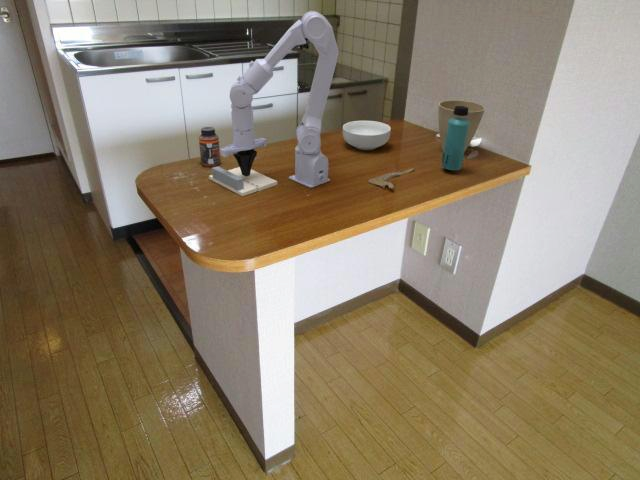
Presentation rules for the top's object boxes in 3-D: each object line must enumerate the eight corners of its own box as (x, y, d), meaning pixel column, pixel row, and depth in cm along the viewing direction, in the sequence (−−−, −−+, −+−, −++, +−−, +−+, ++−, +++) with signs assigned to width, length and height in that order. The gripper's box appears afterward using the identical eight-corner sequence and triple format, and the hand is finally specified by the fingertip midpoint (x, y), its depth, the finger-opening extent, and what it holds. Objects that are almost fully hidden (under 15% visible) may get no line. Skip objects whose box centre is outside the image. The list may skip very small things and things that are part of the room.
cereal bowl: (344, 137, 169) (345, 118, 166) (389, 140, 168) (391, 121, 164) (339, 152, 155) (340, 132, 151) (388, 156, 153) (390, 135, 150)
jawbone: (362, 189, 132) (362, 182, 131) (387, 168, 147) (388, 162, 146) (392, 193, 128) (392, 186, 127) (415, 171, 143) (415, 165, 142)
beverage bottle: (464, 171, 143) (477, 106, 133) (454, 176, 139) (466, 110, 129) (446, 165, 147) (457, 102, 137) (435, 171, 142) (446, 106, 132)
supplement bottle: (216, 168, 140) (212, 132, 134) (198, 166, 141) (194, 130, 135) (223, 161, 145) (220, 126, 139) (206, 159, 146) (202, 124, 140)
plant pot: (423, 151, 158) (430, 105, 150) (444, 142, 168) (452, 98, 160) (463, 162, 150) (472, 114, 142) (482, 152, 159) (492, 105, 151)
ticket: (277, 184, 130) (277, 180, 130) (258, 191, 126) (258, 187, 125) (243, 168, 140) (243, 165, 139) (224, 174, 136) (224, 171, 135)
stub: (257, 191, 126) (256, 177, 124) (242, 196, 123) (241, 182, 121) (223, 174, 135) (222, 161, 133) (209, 179, 132) (207, 165, 130)
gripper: (255, 120, 131) (257, 165, 138) (212, 130, 122) (216, 177, 129) (270, 125, 127) (272, 171, 134) (227, 136, 118) (231, 184, 125)
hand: (245, 175), depth 131 cm, fingers closed
